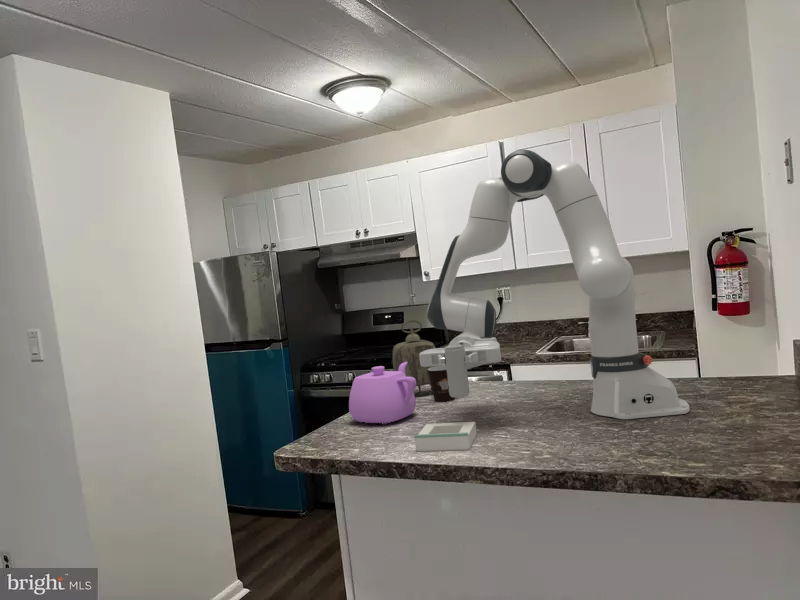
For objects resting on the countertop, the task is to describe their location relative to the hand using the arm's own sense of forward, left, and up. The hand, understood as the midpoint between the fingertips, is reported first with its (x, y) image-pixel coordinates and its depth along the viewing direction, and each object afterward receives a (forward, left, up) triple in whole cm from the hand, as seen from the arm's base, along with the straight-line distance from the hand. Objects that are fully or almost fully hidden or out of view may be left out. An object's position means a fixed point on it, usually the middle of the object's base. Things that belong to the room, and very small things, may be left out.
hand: (454, 360), depth 138 cm
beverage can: (0, -1, -9) cm, 9 cm away
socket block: (+3, +5, -18) cm, 19 cm away
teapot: (+26, -21, -18) cm, 38 cm away
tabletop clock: (+23, -51, -18) cm, 59 cm away
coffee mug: (+11, -41, -18) cm, 46 cm away
